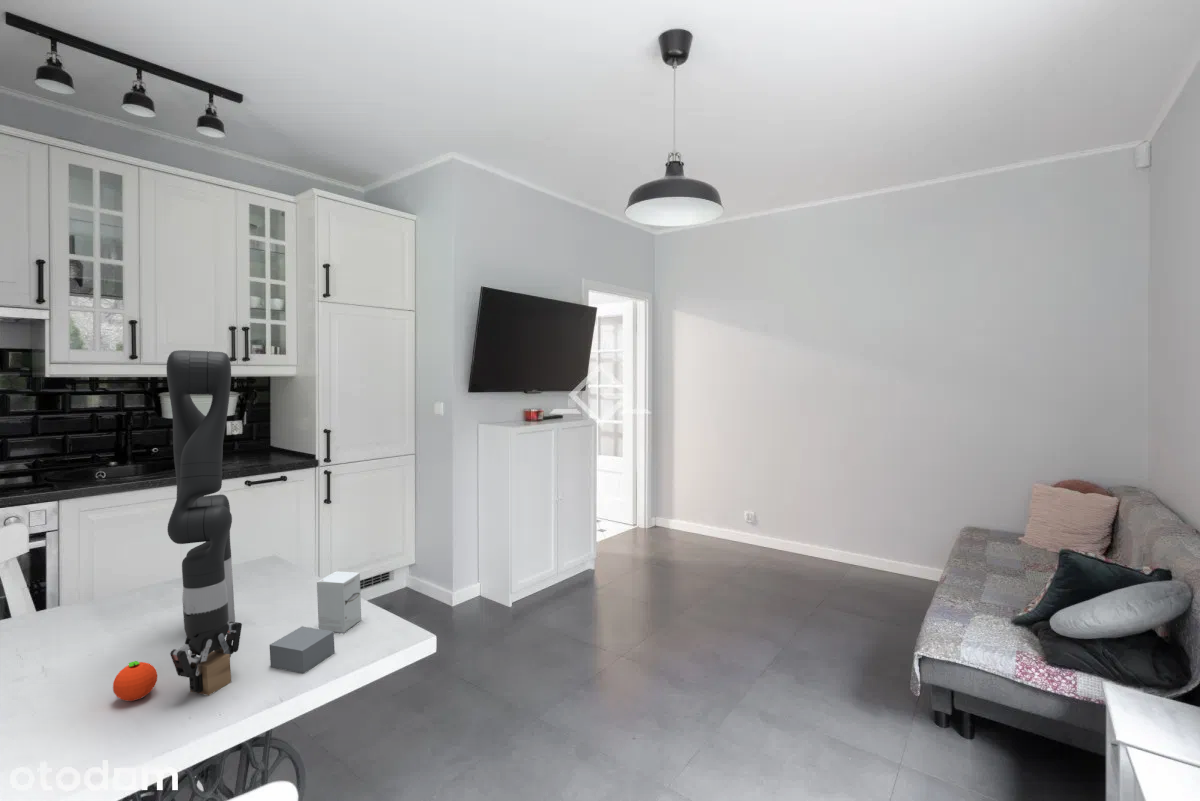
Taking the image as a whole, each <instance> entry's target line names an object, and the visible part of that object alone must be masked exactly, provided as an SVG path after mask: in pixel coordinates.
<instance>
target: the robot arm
mask: <svg viewBox="0 0 1200 801" xmlns="http://www.w3.org/2000/svg"><path fill="white" fill-rule="evenodd" d="M230 360H231V359H230V357H229V355H228V354H227V353H225V352H223V351H209V350H189V349H188V350H184V349H182V350H180V349H178V350H173V351H171V352H170V354H169V355H168V357H167V359H166V380H167V386H168V387H167V388H168V393H169V401H170V407H171V408H170V409H171V414H172V448H173V461H174V462H173V463H174V468H175V469H174V471H175V479H176V501H175V503H174V507H173V509H172V511H171V514H170V517H169V519H168V523H167V534H168V538H169V539H170V540H171V541H172V542H173V543H175V544H178V545H186V544H187V545H188V544H193V543H194V544H195V543H201V544H198V545H197V546H195V547H193V548H191V549H190V550H188V551H187V553H186V556H185V557H184V558H183V559H182V562H181V573H182V575H181V576H182V586H183V587H182V595H181V596H182V599H181V600H182V612H183V627H184V628H183V630H184V632H185V634H186V638H185V642H184V645H181V647H180V648H178V649H171V651H170V653H169V655H170V657H171V660H172V662H173V665H174V668H175V671H176V674H177V676H178V677H183V678H184V677H185V678H189V681H188V682H190V683H189V691H190V690H191V691H193V692H192V693H195V692H196V693H195V694H199V693H200V692H202V691H203V678H202V674H201V672H202V666H203V664H204V663H205V662H206V660H207V656H208V654H210V653H211V652H212V651H214V652H215V653H217V652H220V653H222V654H230V658H231V657H232V654H234V653H236V652H238V651H239V648H240V646H239V645H240V639H241V632H242V626H243V624H242V623H241V622H238V621H236V615H235V611H236V610H235V598H234V597H235V596H234V595H235V592H234V579H233V578H234V577H233V575H234V574H233V564H232V563H233V562H232V559H233V558H232V549H231V528H232V523H233V515H232V513H231V506H230V501H229V498H228V497H227V496H226V495H225V494H216V493H217V492H219V491H220V490H222V489H221V488H222V485H223V484H222V483H223V458H224V457H223V456H224V455H223V454H224V453H223V452H224V450H223V449H224V448H223V447H224V446H223V445H224V439H225V433H226V432H225V431H226V426H227V418H228V411H229V403H230V402H229V401H230V393H231V384H232V364H231V361H230ZM191 395H197V396H198V395H200V396H201V395H208V396H209V395H210V396H211V403H210V407H209V409H208V412H207V413H206V415H205V414H203V413H202V411H201V410H200V409H199V408H198V407H197V406H196V404H195V403H194V401H193V400H192V399H193V398H192V397H191ZM212 494H213V495H212ZM198 656H199V657H200V658H199V657H198ZM195 664H196V667H195Z"/></svg>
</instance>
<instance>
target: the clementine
mask: <svg viewBox="0 0 1200 801" xmlns="http://www.w3.org/2000/svg"><path fill="white" fill-rule="evenodd" d="M157 682H158V672H157V669H156V668H155V666H154V665H152V664H151V663H149V662H144V661H138V660H134V661H131V662H129V663H128V665H126V666H124V667H123V668H122V669H121V670H120V671H119V672H118V673H117V674H116V676H115V678H114V680H113V683H112V684H113V685H112V690H113V694H114V695H115V696H116V697H117V698H118V699H120V700H122V701H127V702H132V701H133V702H134V701H137V700H140V699H142V698H144V697H145V696H148V695H149V693H151V692H152V691H153V689H154V687H156V685H157Z"/></svg>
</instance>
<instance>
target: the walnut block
mask: <svg viewBox="0 0 1200 801" xmlns="http://www.w3.org/2000/svg"><path fill="white" fill-rule="evenodd" d="M199 658H200V656H199ZM195 667H196V664H195ZM201 674H202V678H203V691H202V692H200V693H198V694H199V695H204V696H210V695H212V694H214V693H215V692H218V691H220V689H222V688H223V687H225V686H227V685H229V684H231V683H232V671H231V657H230V654H222V653H220V652H217V653H215V652H214V651H212V652H211V653H210V654H208V656H207V660H206V662H205V663H204V664H203V666H202V672H201ZM188 682H189V681H188ZM189 684H190V682H189ZM189 692H191V693H194V694H197V693H196V692H193V691H191V690H190V689H189Z"/></svg>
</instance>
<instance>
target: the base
mask: <svg viewBox="0 0 1200 801" xmlns="http://www.w3.org/2000/svg"><path fill="white" fill-rule="evenodd" d="M334 652H335V632H333V631H327V630H321V629H319V628H315V627H309V626H303V625H301V626H300V627H298V628H297V629H295V630H293V631H291V632H290V633H287V634H286V635H283V637H281V638H279V639H277V640H275V641H274V642H272V643H270V644H269V660H270V661H269V664H270V667H271V668H275V669H279V670H285V671H290V672H295V673H299V674H305V673H307V672H308V671H309V670H311V669H313V668H314V667H316V666H317V665H318V663H319V664H320V663H322V662H323V661H325V660H326V659H328V658H329V657H330V656H332V655H333V654H335V653H336V652H335V653H334ZM325 658H326V659H325ZM324 659H325V660H324ZM321 661H322V662H321Z"/></svg>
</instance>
